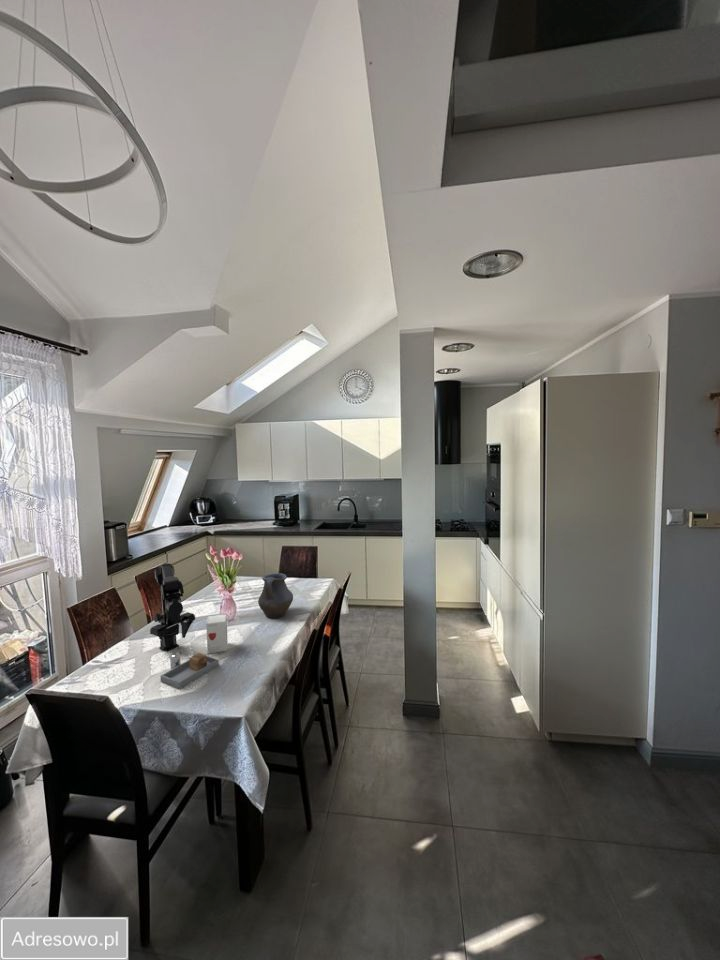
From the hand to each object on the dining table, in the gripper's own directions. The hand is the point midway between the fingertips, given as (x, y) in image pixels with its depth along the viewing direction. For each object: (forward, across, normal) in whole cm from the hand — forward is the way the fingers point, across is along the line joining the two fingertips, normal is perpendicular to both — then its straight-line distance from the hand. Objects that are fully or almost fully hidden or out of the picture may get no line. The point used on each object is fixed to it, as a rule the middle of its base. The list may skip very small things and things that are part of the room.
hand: (174, 642), depth 173 cm
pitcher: (+12, -64, +3) cm, 65 cm away
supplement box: (+12, -21, +3) cm, 24 cm away
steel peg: (+12, 0, 0) cm, 12 cm away
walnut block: (+11, -4, +10) cm, 15 cm away
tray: (+12, 0, +10) cm, 15 cm away
